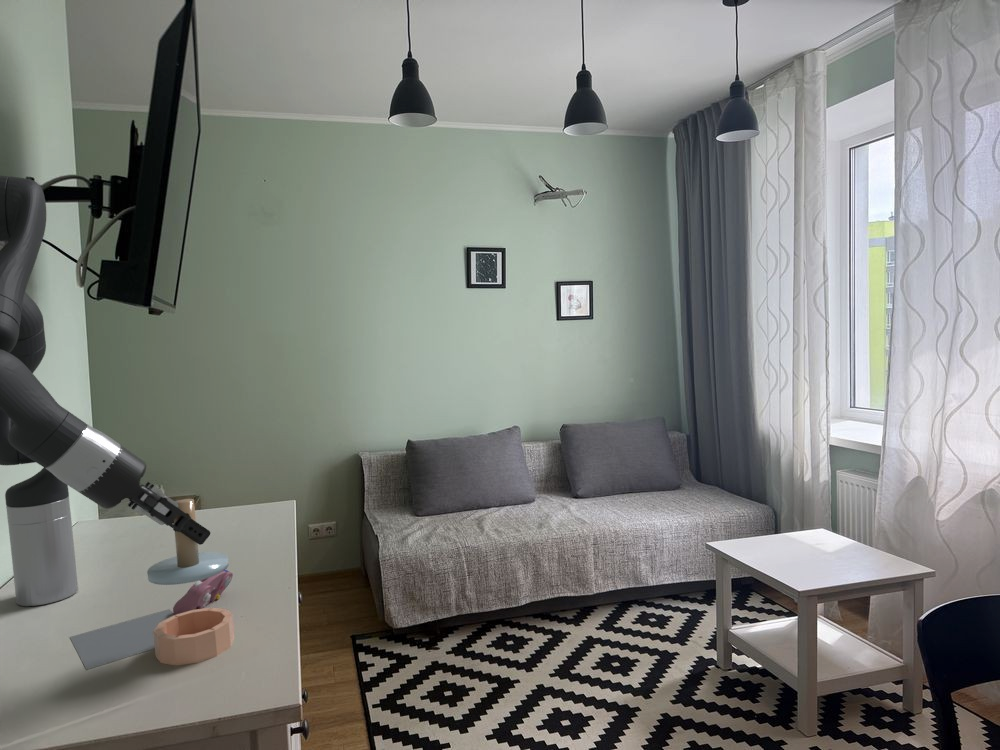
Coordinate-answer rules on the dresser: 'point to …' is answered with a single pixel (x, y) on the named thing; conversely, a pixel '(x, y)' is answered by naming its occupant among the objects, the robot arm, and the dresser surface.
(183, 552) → the lid
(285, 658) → the dresser surface
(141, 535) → the dresser surface
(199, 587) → the video game controller
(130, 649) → the mat
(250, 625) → the dresser surface
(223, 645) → the bowl
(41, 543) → the robot arm
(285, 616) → the dresser surface
